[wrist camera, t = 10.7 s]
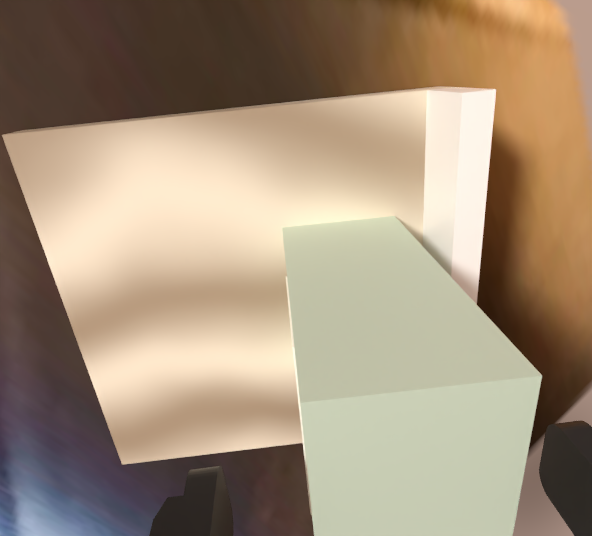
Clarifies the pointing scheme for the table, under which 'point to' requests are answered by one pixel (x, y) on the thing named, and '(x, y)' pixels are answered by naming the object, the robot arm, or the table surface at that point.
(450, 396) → the carton
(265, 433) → the shelf board
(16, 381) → the table surface
